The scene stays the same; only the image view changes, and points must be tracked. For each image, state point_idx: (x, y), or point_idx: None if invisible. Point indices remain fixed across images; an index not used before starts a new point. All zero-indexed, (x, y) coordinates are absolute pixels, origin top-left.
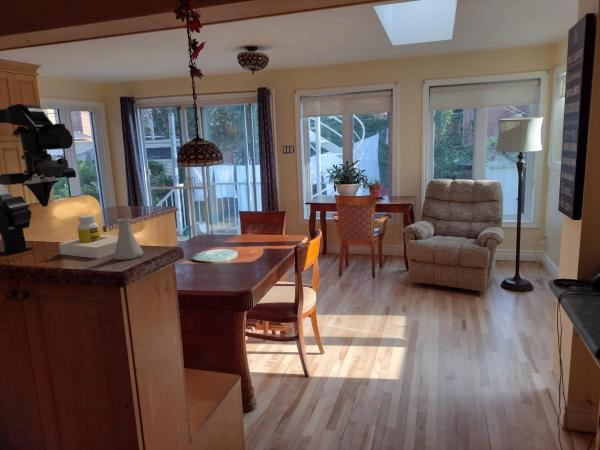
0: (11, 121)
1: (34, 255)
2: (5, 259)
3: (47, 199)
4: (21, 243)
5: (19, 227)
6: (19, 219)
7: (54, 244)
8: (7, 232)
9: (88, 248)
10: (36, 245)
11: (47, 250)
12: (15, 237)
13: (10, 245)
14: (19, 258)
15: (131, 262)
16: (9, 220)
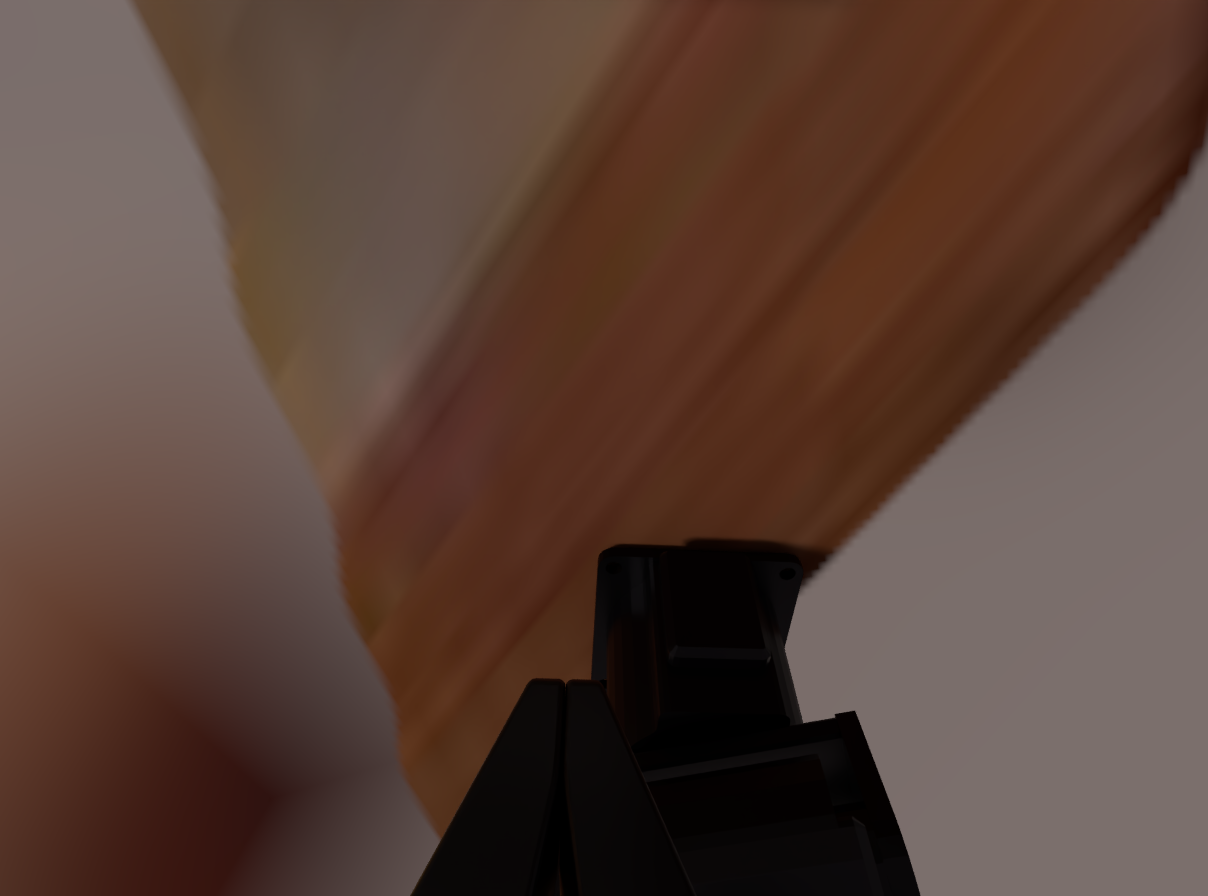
0: None
1: (792, 288)
2: (953, 436)
3: (502, 808)
4: (707, 592)
5: (666, 768)
6: (748, 798)
7: (399, 514)
8: (843, 716)
9: None
10: (490, 631)
11: (594, 352)
12: (764, 650)
13: (771, 631)
14: (915, 333)
15: None
16: (872, 817)
